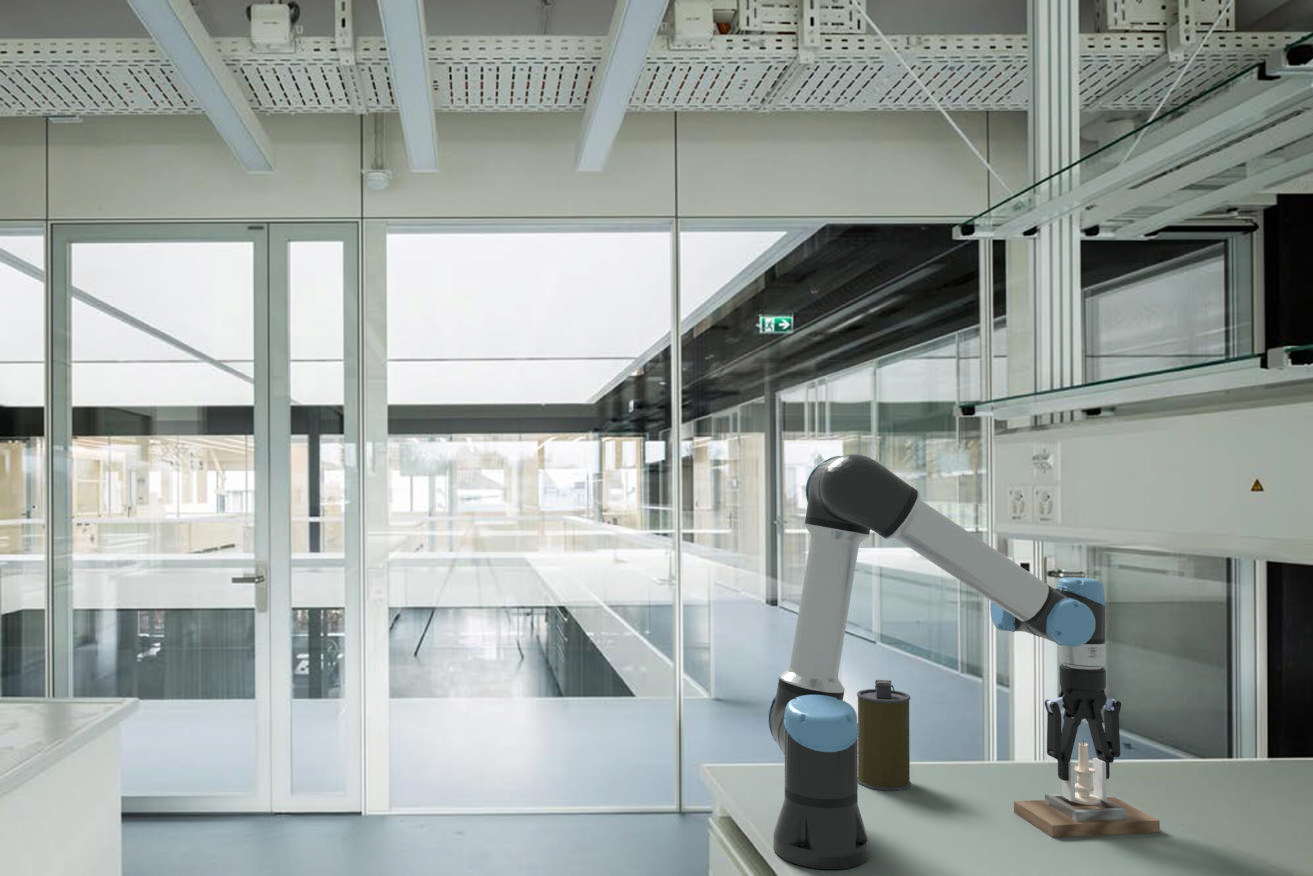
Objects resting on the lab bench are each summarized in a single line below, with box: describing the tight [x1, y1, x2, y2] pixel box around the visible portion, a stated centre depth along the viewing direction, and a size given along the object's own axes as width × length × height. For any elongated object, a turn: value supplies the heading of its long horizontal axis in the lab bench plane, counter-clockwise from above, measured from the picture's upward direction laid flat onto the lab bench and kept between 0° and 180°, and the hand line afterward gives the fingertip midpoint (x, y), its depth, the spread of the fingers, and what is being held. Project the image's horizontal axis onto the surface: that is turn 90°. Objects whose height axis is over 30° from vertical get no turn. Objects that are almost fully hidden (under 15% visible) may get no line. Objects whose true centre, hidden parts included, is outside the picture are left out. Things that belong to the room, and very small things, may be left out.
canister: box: [856, 679, 912, 792], centre depth 181 cm, size 11×10×20 cm
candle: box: [1073, 740, 1100, 805], centre depth 160 cm, size 5×5×10 cm
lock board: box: [1013, 791, 1161, 838], centre depth 160 cm, size 20×12×4 cm, turn 98°
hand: (1084, 797), depth 160 cm, fingers open, 5 cm apart
